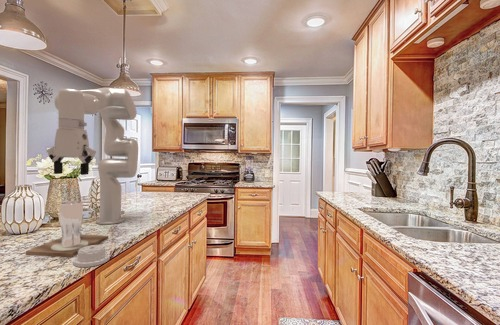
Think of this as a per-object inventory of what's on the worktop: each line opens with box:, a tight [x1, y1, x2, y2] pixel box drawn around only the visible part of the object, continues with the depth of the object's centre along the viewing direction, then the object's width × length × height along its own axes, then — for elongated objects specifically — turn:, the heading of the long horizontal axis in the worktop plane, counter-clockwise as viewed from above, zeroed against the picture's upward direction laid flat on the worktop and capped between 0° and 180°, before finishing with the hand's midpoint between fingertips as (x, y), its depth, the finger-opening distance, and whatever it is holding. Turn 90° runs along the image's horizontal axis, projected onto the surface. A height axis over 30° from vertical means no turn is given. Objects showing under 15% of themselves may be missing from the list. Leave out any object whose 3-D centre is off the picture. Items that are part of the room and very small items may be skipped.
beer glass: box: [58, 200, 84, 247], centre depth 95 cm, size 7×7×15 cm
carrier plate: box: [25, 232, 109, 258], centre depth 98 cm, size 20×16×2 cm
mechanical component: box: [72, 244, 111, 268], centre depth 85 cm, size 10×4×10 cm
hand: (71, 174), depth 95 cm, fingers open, 9 cm apart
